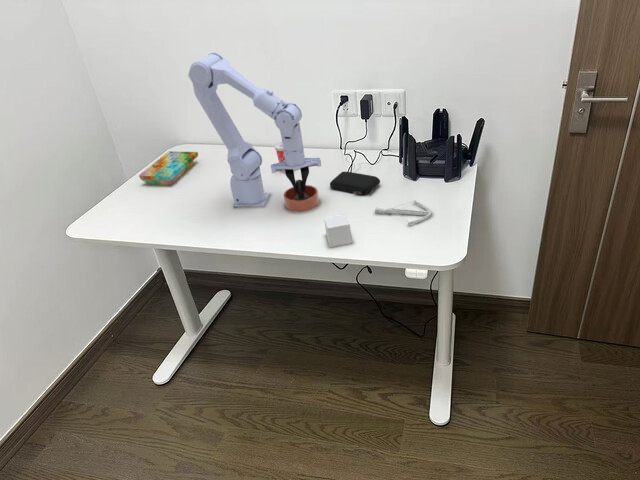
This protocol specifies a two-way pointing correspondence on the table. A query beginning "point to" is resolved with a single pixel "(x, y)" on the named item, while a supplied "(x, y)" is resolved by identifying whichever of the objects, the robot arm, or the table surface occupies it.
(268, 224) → the table surface
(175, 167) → the puzzle game
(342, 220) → the white cube
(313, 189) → the pot
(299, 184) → the dark grey bolt
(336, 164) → the table surface
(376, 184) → the carrying case
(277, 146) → the beverage cup
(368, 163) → the table surface
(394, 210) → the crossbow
